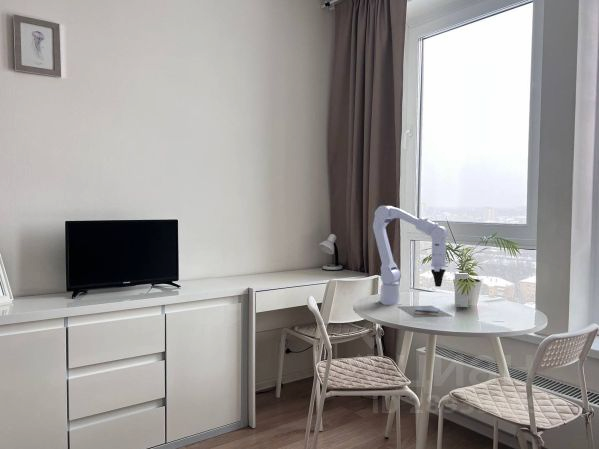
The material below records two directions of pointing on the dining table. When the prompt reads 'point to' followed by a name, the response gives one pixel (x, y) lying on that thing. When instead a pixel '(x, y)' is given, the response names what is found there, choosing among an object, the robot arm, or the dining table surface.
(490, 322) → the dining table surface
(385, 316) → the dining table surface
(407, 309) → the mat
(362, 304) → the dining table surface
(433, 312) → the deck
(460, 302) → the skincare box
